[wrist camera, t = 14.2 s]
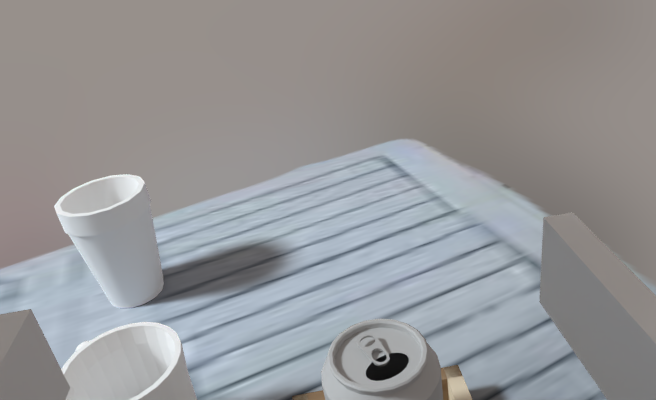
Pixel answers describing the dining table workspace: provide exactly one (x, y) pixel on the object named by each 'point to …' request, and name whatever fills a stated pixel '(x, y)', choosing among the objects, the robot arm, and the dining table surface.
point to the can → (381, 364)
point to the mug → (130, 366)
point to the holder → (452, 386)
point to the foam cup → (115, 237)
